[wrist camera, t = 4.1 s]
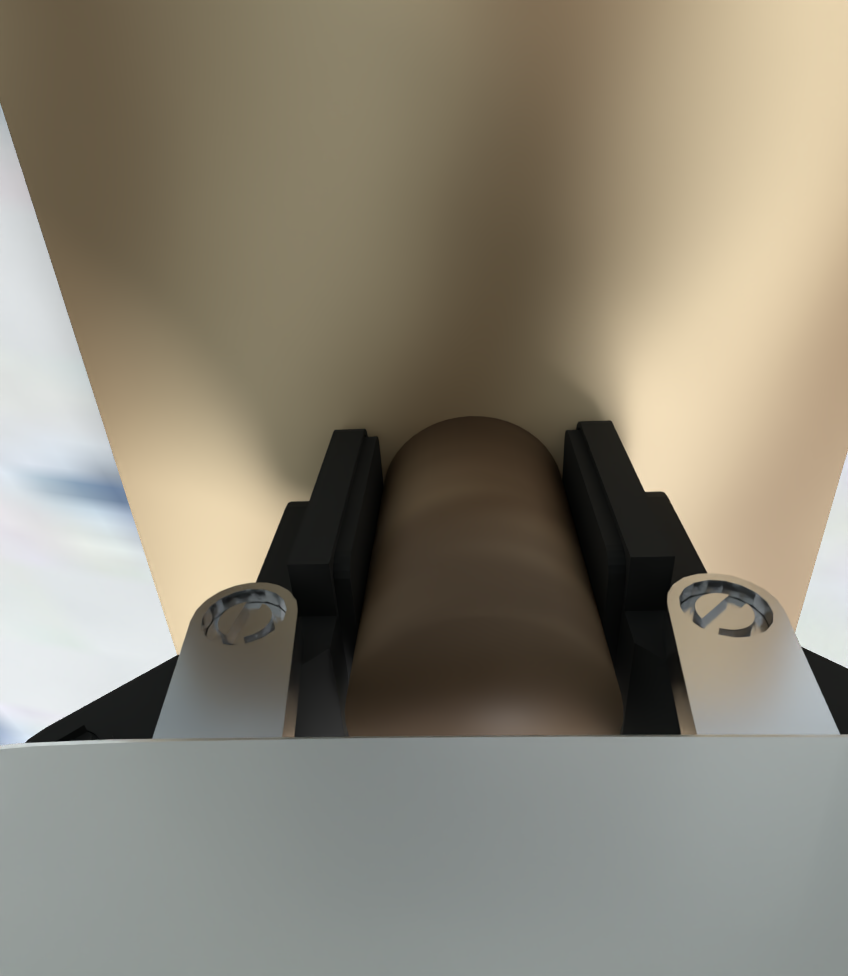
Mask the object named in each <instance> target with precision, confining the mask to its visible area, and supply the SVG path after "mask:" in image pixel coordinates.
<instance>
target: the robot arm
mask: <svg viewBox="0 0 848 976" xmlns="http://www.w3.org/2000/svg"><path fill="white" fill-rule="evenodd" d="M562 481H563V485H564V489H565V492H566V496H567V500H568V503H569V507H570V510H571V514H572V518H573V521H574V525H575V529H576V532H577V536H578V540H579V543H580V547H581V550H582V554H583V558H584V561H585V565H586V569H587V572H588V576H589V579H590V583H591V587H592V590H593V594H594V598H595V601H596V605H597V609H598V612H599V616H600V619H601V623H602V627H603V630H604V634H605V638H606V641H607V645H608V648H609V652H610V656H611V659H612V663H613V667H614V670H615V674H616V677H617V681H618V685H619V688H620V692H621V696H622V702H623V723H622V727H621V731H620V735H485V736H358V737H349V734H348V731H347V727H346V722H345V704H346V696H347V690H348V685H349V679H350V673H351V668H352V662H353V656H354V651H355V645H356V639H357V634H358V628H359V622H360V617H361V611H362V605H363V600H364V594H365V588H366V583H367V577H368V571H369V566H370V560H371V554H372V549H373V543H374V537H375V532H376V526H377V520H378V515H379V509H380V503H381V498H382V492H383V486H384V485H383V474H382V464H381V454H380V444H379V438H378V436H373V437H368V434H367V431H366V429H341V430H334V432H333V434H332V437H331V440H330V443H329V446H328V449H327V451H326V454H325V457H324V460H323V463H322V466H321V469H320V471H319V474H318V477H317V480H316V483H315V486H314V489H313V492H312V494H311V497H310V500H309V501H291V502H288V504H287V506H286V508H285V510H284V513H283V515H282V518H281V520H280V523H279V525H278V528H277V530H276V533H275V535H274V538H273V540H272V543H271V545H270V548H269V550H268V553H267V555H266V558H265V560H264V563H263V565H262V568H261V570H260V573H259V575H258V578H257V580H256V583H246V584H241V585H236V586H233V587H230V588H228V589H225V590H222V591H220V592H218V593H217V594H215V595H213V596H212V597H210V598H208V599H207V600H206V601H205V602H204V603H203V604H202V605H201V606H200V607H199V608H198V609H197V610H196V611H195V613H194V615H193V617H192V619H191V620H190V623H189V626H188V630H187V633H186V636H185V639H184V642H183V645H182V648H181V651H180V654H179V655H177V656H175V657H173V658H171V659H170V660H168V661H166V662H164V663H162V664H161V665H159V666H157V667H155V668H153V669H151V670H150V671H148V672H146V673H144V674H142V675H141V676H139V677H137V678H135V679H133V680H131V681H130V682H128V683H126V684H124V685H122V686H121V687H119V688H117V689H115V690H113V691H112V692H110V693H108V694H106V695H104V696H102V697H101V698H99V699H97V700H95V701H93V702H92V703H90V704H88V705H86V706H84V707H83V708H81V709H79V710H77V711H75V712H73V713H72V714H70V715H68V716H66V717H64V718H63V719H61V720H59V721H57V722H55V723H54V724H52V725H50V726H48V727H46V728H45V729H43V730H42V731H40V732H39V733H37V734H36V735H34V736H33V737H31V738H30V739H28V740H27V741H26V742H25V743H17V744H9V745H0V976H848V669H847V668H845V667H843V666H841V665H839V664H837V663H835V662H833V661H830V660H828V659H826V658H824V657H822V656H820V655H818V654H816V653H813V652H811V651H809V650H807V649H805V648H803V647H801V645H800V643H799V641H798V639H797V637H796V634H795V632H794V630H793V628H792V625H791V623H790V621H789V619H788V616H787V614H786V612H785V610H784V609H783V607H782V606H781V604H780V603H779V601H778V600H777V599H776V598H775V597H774V596H772V595H771V594H770V593H769V592H768V591H766V590H765V589H764V588H762V587H760V586H758V585H756V584H754V583H752V582H750V581H747V580H744V579H741V578H738V577H735V576H731V575H724V574H716V573H707V571H706V569H705V567H704V565H703V563H702V561H701V560H700V558H699V556H698V554H697V552H696V550H695V548H694V546H693V544H692V542H691V540H690V538H689V536H688V535H687V533H686V531H685V529H684V527H683V525H682V523H681V521H680V519H679V517H678V515H677V513H676V512H675V510H674V508H673V506H672V504H671V502H670V500H669V498H668V496H667V495H666V494H665V492H662V491H654V492H645V491H644V489H643V486H642V484H641V482H640V480H639V478H638V476H637V474H636V472H635V469H634V467H633V465H632V463H631V461H630V459H629V457H628V455H627V452H626V450H625V448H624V446H623V444H622V442H621V440H620V438H619V435H618V433H617V431H616V429H615V427H614V425H613V423H612V421H611V420H607V421H579V422H578V423H577V427H576V430H566V432H565V439H564V457H563V475H562Z"/></svg>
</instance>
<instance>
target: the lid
mask: <svg viewBox="0 0 848 976" xmlns="http://www.w3.org/2000/svg"><path fill="white" fill-rule="evenodd" d="M0 103H1V106H2V109H3V112H4V116H5V119H6V122H7V125H8V128H9V131H10V134H11V137H12V141H13V144H14V147H15V150H16V153H17V156H18V159H19V162H20V166H21V169H22V172H23V175H24V178H25V181H26V184H27V187H28V190H29V194H30V197H31V200H32V203H33V206H34V209H35V212H36V215H37V219H38V222H39V225H40V228H41V231H42V234H43V237H44V240H45V243H46V247H47V250H48V253H49V256H50V259H51V262H52V265H53V268H54V272H55V275H56V278H57V281H58V284H59V287H60V290H61V293H62V297H63V300H64V303H65V306H66V309H67V312H68V315H69V318H70V321H71V325H72V328H73V331H74V334H75V337H76V340H77V343H78V346H79V350H80V353H81V356H82V359H83V362H84V365H85V368H86V371H87V374H88V378H89V381H90V384H91V387H92V390H93V393H94V396H95V399H96V403H97V406H98V409H99V412H100V415H101V418H102V421H103V424H104V427H105V431H106V434H107V437H108V440H109V443H110V446H111V449H112V452H113V456H114V459H115V462H116V465H117V468H118V471H119V474H120V477H121V481H122V484H123V487H124V490H125V493H126V496H127V499H128V502H129V505H130V509H131V512H132V515H133V518H134V521H135V524H136V527H137V530H138V534H139V537H140V540H141V543H142V546H143V549H144V552H145V555H146V558H147V562H148V565H149V568H150V571H151V574H152V577H153V580H154V583H155V587H156V590H157V593H158V596H159V599H160V602H161V605H162V608H163V612H164V615H165V618H166V621H167V624H168V627H169V630H170V633H171V636H172V640H173V643H174V646H175V649H176V652H177V655H179V654H180V651H181V648H182V645H183V642H184V639H185V636H186V633H187V630H188V626H189V623H190V620H191V619H192V617H193V615H194V613H195V611H196V610H197V609H198V608H199V607H200V606H201V605H202V604H203V603H204V602H205V601H206V600H207V599H208V598H210V597H212V596H213V595H215V594H217V593H218V592H220V591H222V590H225V589H228V588H230V587H233V586H236V585H241V584H246V583H256V580H257V578H258V575H259V573H260V570H261V568H262V565H263V563H264V560H265V558H266V555H267V553H268V550H269V548H270V545H271V543H272V540H273V538H274V535H275V533H276V530H277V528H278V525H279V523H280V520H281V518H282V515H283V513H284V510H285V508H286V506H287V504H288V502H291V501H309V500H310V497H311V494H312V492H313V489H314V486H315V483H316V480H317V477H318V474H319V471H320V469H321V466H322V463H323V460H324V457H325V454H326V451H327V449H328V446H329V443H330V440H331V437H332V434H333V432H334V430H341V429H366V431H367V434H368V437H373V436H378V438H379V444H380V454H381V464H382V474H383V485H384V486H383V492H382V498H381V503H380V509H379V515H378V520H377V526H376V532H375V537H374V543H373V549H372V554H371V560H370V566H369V571H368V577H367V583H366V588H365V594H364V600H363V605H362V611H361V617H360V622H359V628H358V634H357V639H356V645H355V651H354V656H353V662H352V668H351V673H350V679H349V685H348V690H347V696H346V704H345V722H346V727H347V731H348V734H349V737H358V736H485V735H620V731H621V727H622V723H623V702H622V696H621V692H620V688H619V685H618V681H617V677H616V674H615V670H614V667H613V663H612V659H611V656H610V652H609V648H608V645H607V641H606V638H605V634H604V630H603V627H602V623H601V619H600V616H599V612H598V609H597V605H596V601H595V598H594V594H593V590H592V587H591V583H590V579H589V576H588V572H587V569H586V565H585V561H584V558H583V554H582V550H581V547H580V543H579V540H578V536H577V532H576V529H575V525H574V521H573V518H572V514H571V510H570V507H569V503H568V500H567V496H566V492H565V489H564V485H563V481H562V475H563V457H564V439H565V432H566V430H576V427H577V423H578V422H579V421H607V420H611V421H612V423H613V425H614V427H615V429H616V431H617V433H618V435H619V438H620V440H621V442H622V444H623V446H624V448H625V450H626V452H627V455H628V457H629V459H630V461H631V463H632V465H633V467H634V469H635V472H636V474H637V476H638V478H639V480H640V482H641V484H642V486H643V489H644V491H645V492H654V491H662V492H665V494H666V495H667V496H668V498H669V500H670V502H671V504H672V506H673V508H674V510H675V512H676V513H677V515H678V517H679V519H680V521H681V523H682V525H683V527H684V529H685V531H686V533H687V535H688V536H689V538H690V540H691V542H692V544H693V546H694V548H695V550H696V552H697V554H698V556H699V558H700V560H701V561H702V563H703V565H704V567H705V569H706V571H707V573H716V574H724V575H731V576H735V577H738V578H741V579H744V580H747V581H750V582H752V583H754V584H756V585H758V586H760V587H762V588H764V589H765V590H766V591H768V592H769V593H770V594H771V595H772V596H774V597H775V598H776V599H777V600H778V601H779V603H780V604H781V606H782V607H783V609H784V610H785V612H786V614H787V616H788V619H789V621H790V623H791V625H792V628H793V630H794V632H795V630H796V627H797V624H798V620H799V617H800V613H801V610H802V606H803V603H804V599H805V596H806V592H807V589H808V586H809V582H810V579H811V575H812V572H813V568H814V565H815V561H816V558H817V554H818V551H819V548H820V544H821V541H822V537H823V534H824V530H825V527H826V523H827V520H828V517H829V513H830V510H831V506H832V503H833V499H834V496H835V492H836V489H837V485H838V482H839V479H840V475H841V472H842V468H843V465H844V461H845V458H846V454H847V451H848V0H0Z"/></svg>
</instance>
